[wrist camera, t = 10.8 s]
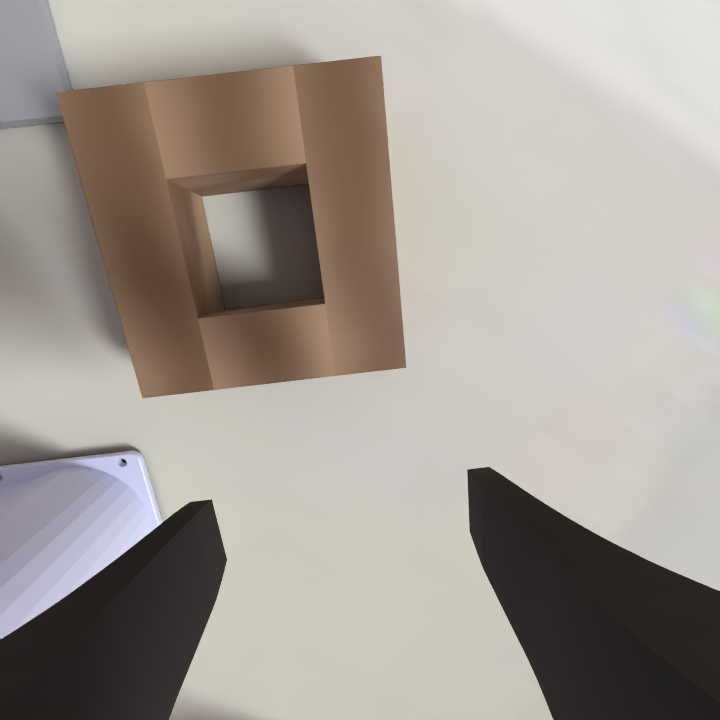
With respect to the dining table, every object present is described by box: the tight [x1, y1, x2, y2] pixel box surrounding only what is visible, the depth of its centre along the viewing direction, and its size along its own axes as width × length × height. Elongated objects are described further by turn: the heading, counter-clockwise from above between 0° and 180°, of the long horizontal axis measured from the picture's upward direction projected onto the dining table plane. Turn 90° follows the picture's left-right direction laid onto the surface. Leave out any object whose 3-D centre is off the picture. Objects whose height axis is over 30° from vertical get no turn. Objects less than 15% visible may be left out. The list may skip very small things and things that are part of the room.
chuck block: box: [56, 56, 406, 398], centre depth 16 cm, size 12×12×4 cm
